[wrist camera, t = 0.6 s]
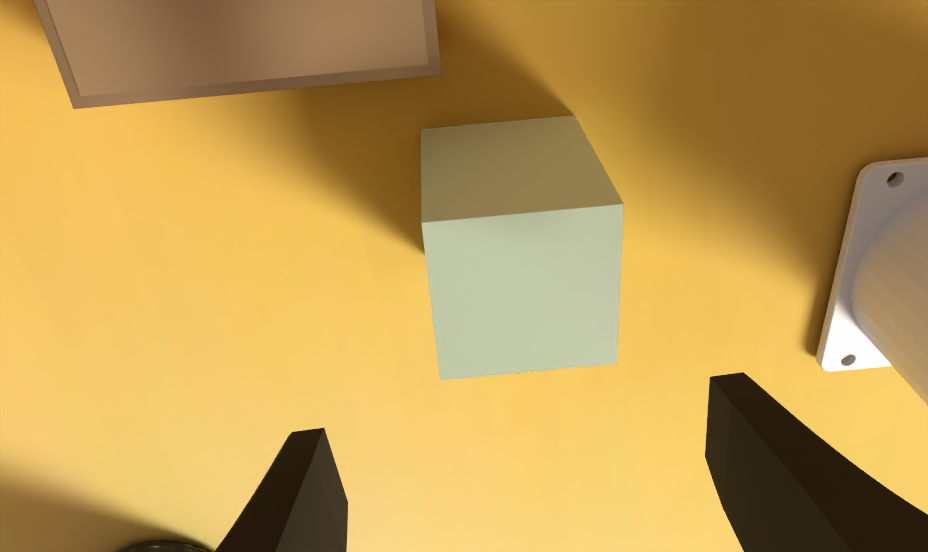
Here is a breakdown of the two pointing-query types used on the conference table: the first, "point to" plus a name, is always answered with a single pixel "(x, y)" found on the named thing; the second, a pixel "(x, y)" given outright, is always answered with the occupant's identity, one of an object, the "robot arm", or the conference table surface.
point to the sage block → (520, 247)
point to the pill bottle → (162, 547)
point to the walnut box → (233, 46)
